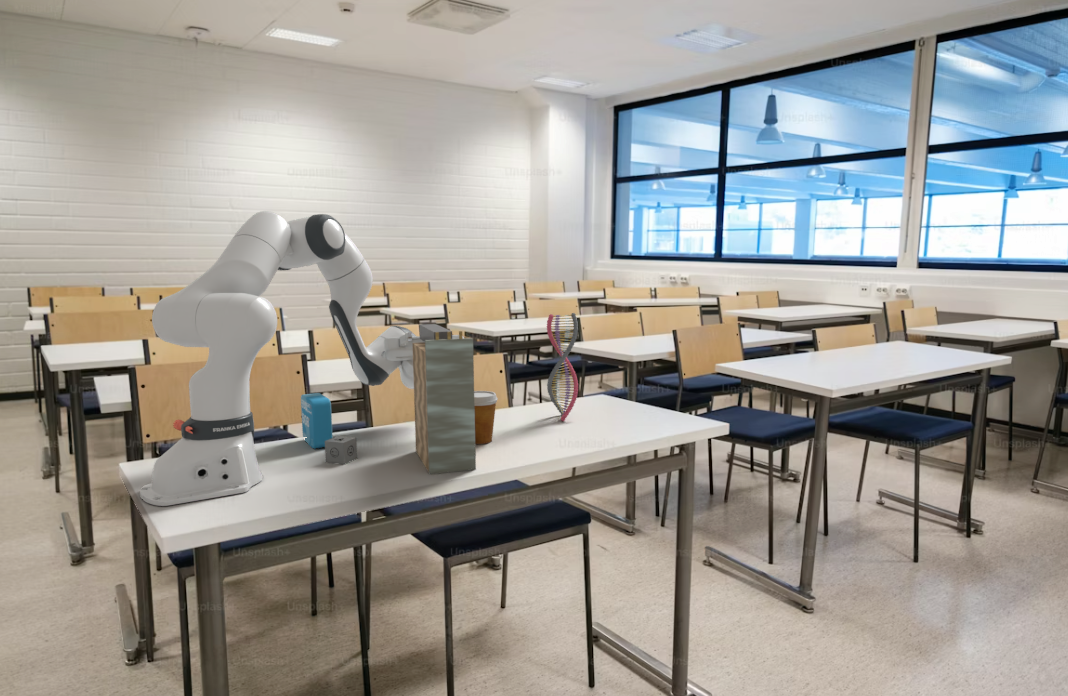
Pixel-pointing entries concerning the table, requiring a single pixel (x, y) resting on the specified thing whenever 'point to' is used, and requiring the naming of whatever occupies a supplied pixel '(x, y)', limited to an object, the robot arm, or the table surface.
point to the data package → (316, 419)
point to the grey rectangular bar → (433, 332)
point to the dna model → (561, 361)
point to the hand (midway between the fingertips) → (428, 334)
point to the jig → (444, 403)
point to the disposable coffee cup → (484, 415)
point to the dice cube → (340, 449)
